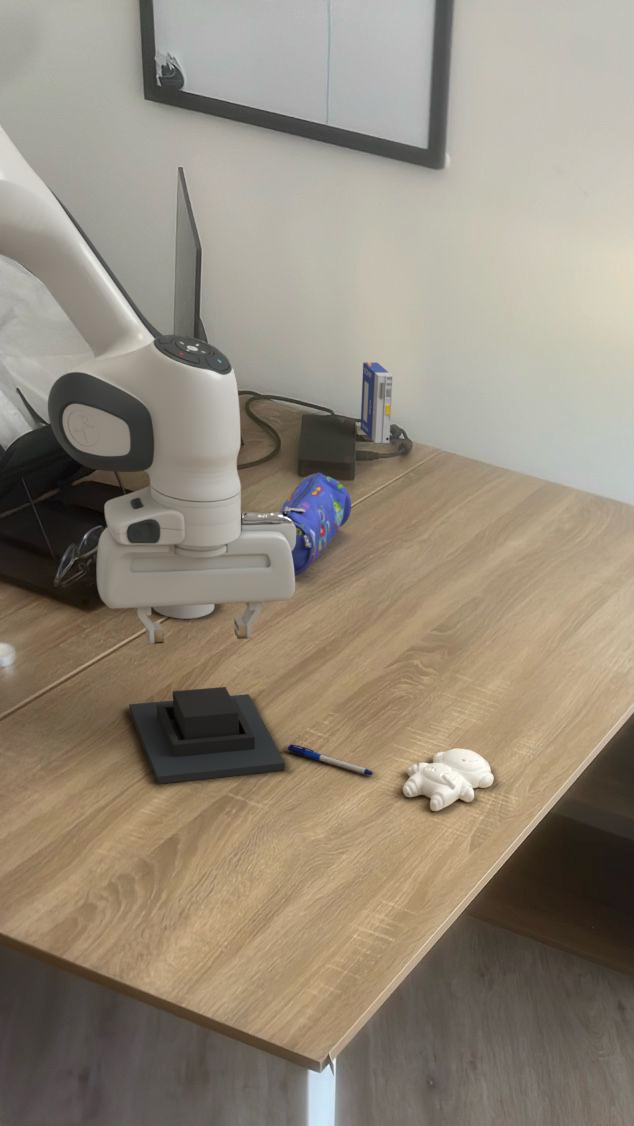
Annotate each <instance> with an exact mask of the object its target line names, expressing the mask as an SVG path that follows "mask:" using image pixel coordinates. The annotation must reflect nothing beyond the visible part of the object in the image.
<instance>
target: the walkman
mask: <svg viewBox="0 0 634 1126" xmlns="http://www.w3.org/2000/svg"><path fill="white" fill-rule="evenodd" d="M393 377H394V376H393V375H392V374H391V373H390V372H389V371H388V370H386V369H385V368H384V367H383V366H382V365H381V364H379V362H370V361H366V362H365V361H364V362H363V363H362V380H361V381H362V384H361V406H360V407H361V409H360V430H361V431H362V432H363V433H364V434H365V435H366V436H367V437H368V438H369V439H370V440H371V441H372V442H373V443H374V444H390V436H391V421H392V420H391V419H392V402H393V398H392V396H393V381H394V380H393V379H394V378H393Z"/></svg>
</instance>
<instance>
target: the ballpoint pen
mask: <svg viewBox="0 0 634 1126" xmlns="http://www.w3.org/2000/svg"><path fill="white" fill-rule="evenodd" d="M287 750H288V751H289V752H291V753H294V754H297V755H299V756H303V757H307V758H309V759H313V760H316V761H321V762H323V763H327V764H330V765H333V766H336V767H340V768H343V769H346V770H349V771H353V772H357V773H359V774H363V775H369V776H372V775H373V771H372V770H370V769H367V768H366V767H362V766H359V765H356V764H352V763H350V762H346V761H342V760H340V759H337V758H333V757H330V756H326V755H323V754H321V753H319V752H314V751H315V750H314V749H310V748H308V747H304V746H302V745H297V744H289V745H288V747H287Z"/></svg>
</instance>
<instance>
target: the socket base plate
mask: <svg viewBox="0 0 634 1126" xmlns="http://www.w3.org/2000/svg"><path fill="white" fill-rule="evenodd" d="M230 697H231V699H232V701H233V703H234V705H235V707H236V709H237V711H238V716H239V735H231V736H220V737H210V738H200V739H190V740H182V739H181V736H180V734H179V732H178V729H177V727H176V725H175V723H174V708H173V700H165V701H163V700H162V701H153V702H141V703H140V702H139V703H129V705H128V709H129V713H130V717H131V718H132V721H133V724H134V727H135V728H136V729H135V730H136V731H137V734H138V736H139V739H140V742H141V744H142V747H143V750H144V752H145V755H146V757H147V760H148V762H149V765H150V767H151V770H152V773H153V775H154V777H155V780H156V783H157V785H163V784H172V783H181V782H190V781H191V782H192V781H200V780H209V779H218V778H226V777H235V776H245V775H255V774H263V773H272V772H281V771H282V772H283V771H286V762H285V760H284V758H283V756H282V755H281V753H280V750H279V749H278V747H277V745H276V743H275V741H274V739H273V737H272V736H271V734H270V732H269V730H268V727H267V726H266V724H265V722H264V721H263V719H262V718H263V717H261V715H260V713H259V711H258V709H257V707H256V705H255V703H254V701H253V699H252V697H251V696H250V694H249V693H247V694H235V695H230Z"/></svg>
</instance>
